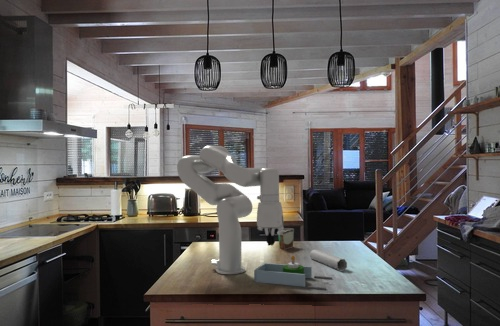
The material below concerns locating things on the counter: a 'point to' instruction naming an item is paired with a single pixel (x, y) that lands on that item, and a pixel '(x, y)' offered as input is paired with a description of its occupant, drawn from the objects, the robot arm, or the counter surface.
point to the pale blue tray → (280, 275)
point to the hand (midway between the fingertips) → (270, 244)
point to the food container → (286, 238)
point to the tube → (329, 260)
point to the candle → (293, 267)
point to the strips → (319, 287)
